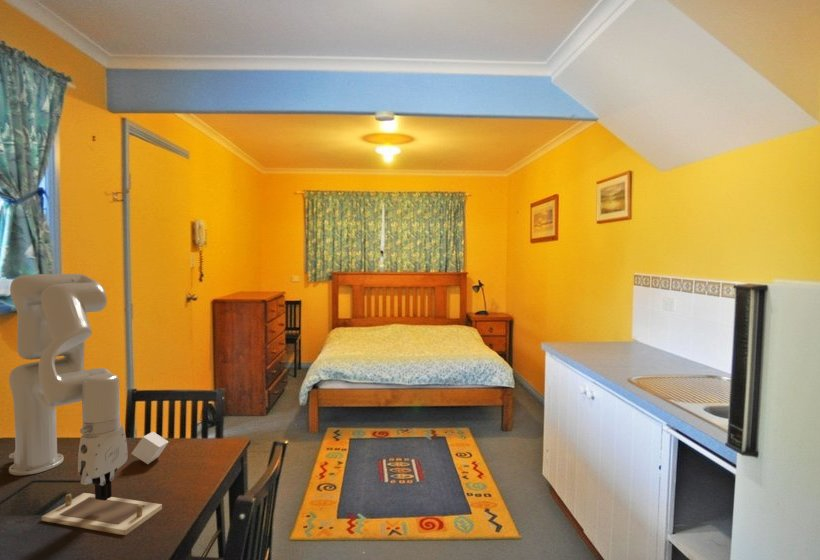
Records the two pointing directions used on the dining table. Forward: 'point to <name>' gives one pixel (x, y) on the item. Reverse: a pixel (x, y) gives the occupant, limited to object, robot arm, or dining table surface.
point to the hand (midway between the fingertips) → (103, 498)
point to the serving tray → (102, 513)
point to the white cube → (150, 447)
